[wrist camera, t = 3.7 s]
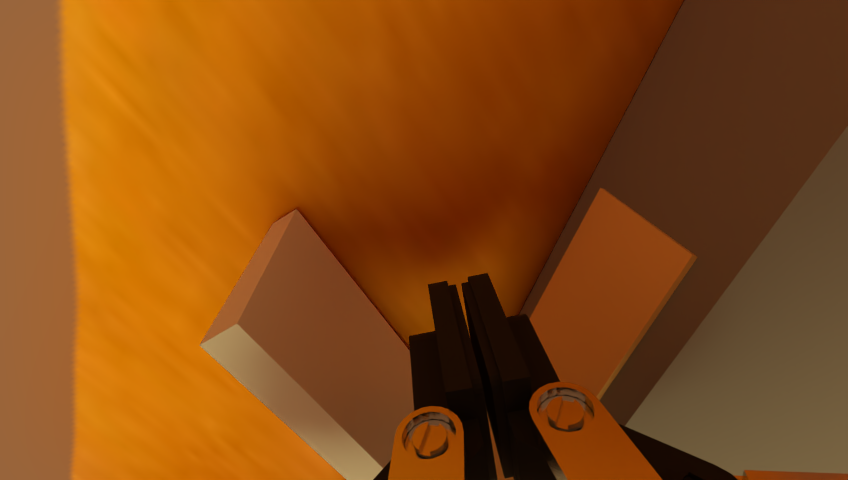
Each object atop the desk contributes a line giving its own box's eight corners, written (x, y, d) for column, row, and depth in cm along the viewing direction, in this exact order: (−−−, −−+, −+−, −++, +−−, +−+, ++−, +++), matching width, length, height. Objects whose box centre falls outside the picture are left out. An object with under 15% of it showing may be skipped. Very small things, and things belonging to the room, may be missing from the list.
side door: (260, 229, 15) (173, 364, 9) (299, 205, 15) (237, 327, 9) (438, 435, 20) (460, 610, 14) (470, 420, 20) (506, 592, 14)
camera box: (730, -97, 12) (1210, -279, 5) (955, 25, 14) (1533, 18, 7) (466, 407, 20) (509, 615, 13) (634, 442, 22) (752, 638, 15)
